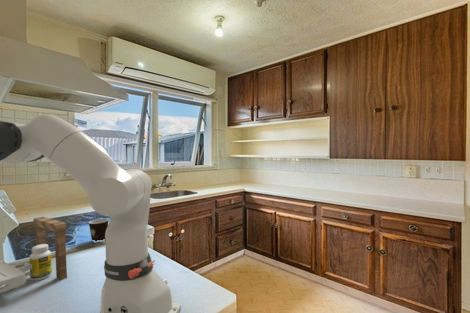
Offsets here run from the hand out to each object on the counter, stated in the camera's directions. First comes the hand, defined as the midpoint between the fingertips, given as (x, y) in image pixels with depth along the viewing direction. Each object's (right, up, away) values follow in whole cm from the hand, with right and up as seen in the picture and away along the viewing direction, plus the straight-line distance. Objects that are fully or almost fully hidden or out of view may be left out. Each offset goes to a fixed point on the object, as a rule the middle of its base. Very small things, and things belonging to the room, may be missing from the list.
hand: (30, 265), depth 88 cm
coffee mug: (+5, -5, +37) cm, 37 cm away
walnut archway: (+3, -5, +6) cm, 8 cm away
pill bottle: (+2, -6, +3) cm, 6 cm away
